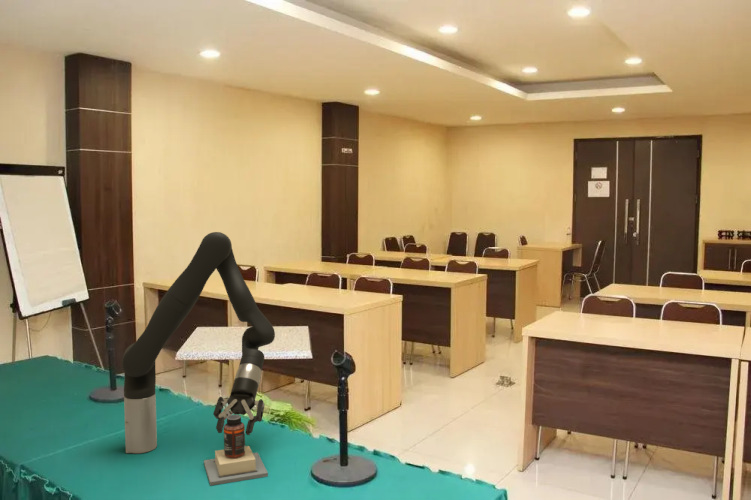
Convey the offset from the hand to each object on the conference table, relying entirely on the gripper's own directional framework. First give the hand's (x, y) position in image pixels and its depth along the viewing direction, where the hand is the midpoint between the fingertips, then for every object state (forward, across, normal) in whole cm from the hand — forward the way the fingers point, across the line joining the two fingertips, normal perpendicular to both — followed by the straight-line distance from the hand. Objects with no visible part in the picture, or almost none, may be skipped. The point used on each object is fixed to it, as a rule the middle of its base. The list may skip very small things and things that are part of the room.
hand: (233, 432), depth 182 cm
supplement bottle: (+4, 0, +6) cm, 7 cm away
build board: (+7, 0, +9) cm, 11 cm away
